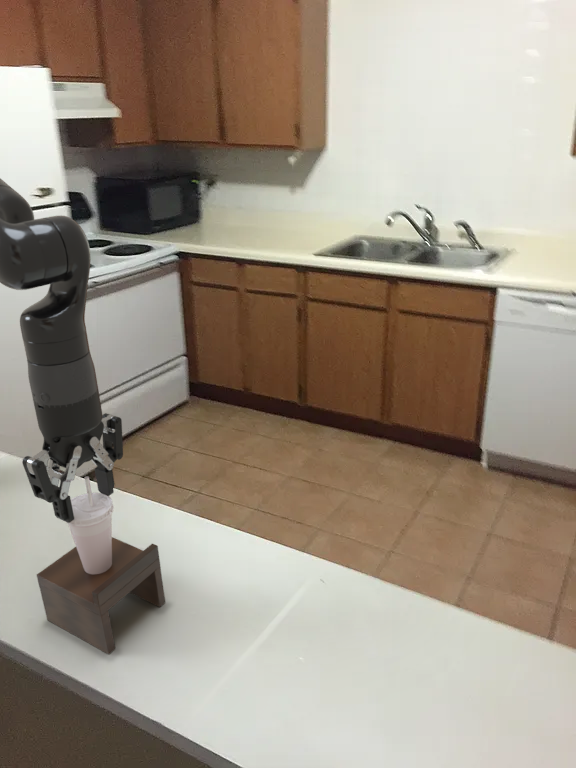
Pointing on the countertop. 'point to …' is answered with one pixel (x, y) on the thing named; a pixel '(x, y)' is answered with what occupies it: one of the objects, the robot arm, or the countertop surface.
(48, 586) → the shelf
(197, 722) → the countertop surface
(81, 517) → the smoothie
